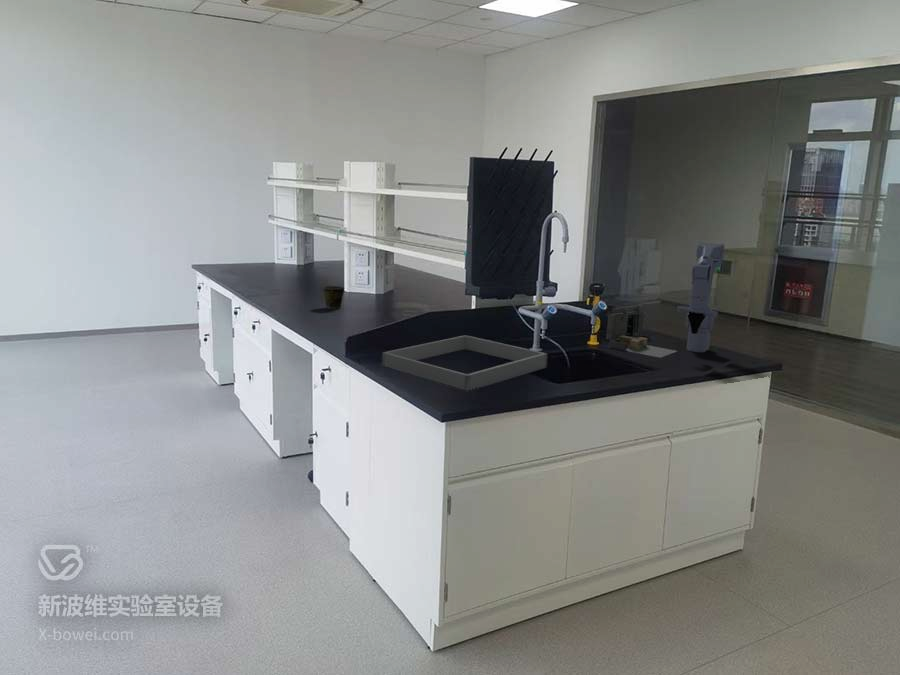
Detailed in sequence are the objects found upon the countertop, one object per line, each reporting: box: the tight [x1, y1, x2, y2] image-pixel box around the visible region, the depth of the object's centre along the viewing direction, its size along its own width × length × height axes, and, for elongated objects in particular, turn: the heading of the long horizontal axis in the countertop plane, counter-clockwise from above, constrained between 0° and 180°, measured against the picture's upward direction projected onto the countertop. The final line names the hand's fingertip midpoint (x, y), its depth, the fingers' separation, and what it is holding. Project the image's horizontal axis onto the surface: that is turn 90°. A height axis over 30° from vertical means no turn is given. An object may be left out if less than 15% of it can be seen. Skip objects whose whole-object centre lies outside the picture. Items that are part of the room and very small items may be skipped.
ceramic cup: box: [322, 285, 345, 310], centre depth 336 cm, size 13×10×10 cm
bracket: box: [607, 336, 638, 351], centre depth 279 cm, size 15×7×2 cm, turn 139°
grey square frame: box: [381, 334, 548, 392], centre depth 240 cm, size 43×37×5 cm
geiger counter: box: [605, 303, 648, 341], centre depth 299 cm, size 14×6×25 cm
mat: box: [609, 344, 678, 358], centre depth 274 cm, size 16×22×1 cm
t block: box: [619, 336, 648, 350], centre depth 277 cm, size 9×9×4 cm
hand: (694, 333), depth 261 cm, fingers closed
